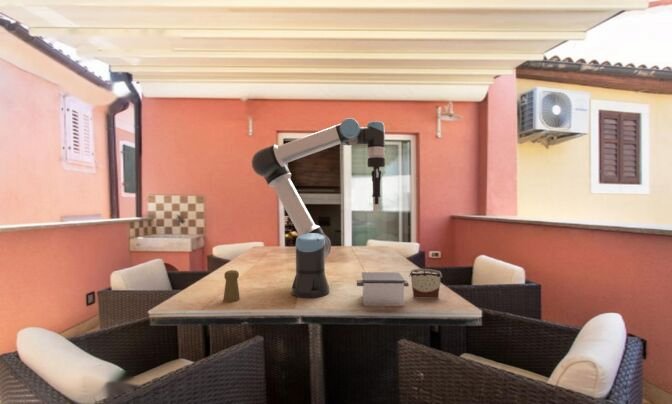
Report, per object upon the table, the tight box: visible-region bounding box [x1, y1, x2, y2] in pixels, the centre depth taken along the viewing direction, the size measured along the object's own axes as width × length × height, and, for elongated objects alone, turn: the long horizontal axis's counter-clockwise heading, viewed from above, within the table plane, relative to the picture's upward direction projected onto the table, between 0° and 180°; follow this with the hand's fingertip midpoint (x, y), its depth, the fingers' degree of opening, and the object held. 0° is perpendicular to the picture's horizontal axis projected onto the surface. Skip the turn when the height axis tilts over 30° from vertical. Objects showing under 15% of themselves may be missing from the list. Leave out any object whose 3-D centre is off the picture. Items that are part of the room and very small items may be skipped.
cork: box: [222, 269, 241, 303], centre depth 121 cm, size 6×6×11 cm
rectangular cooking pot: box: [356, 279, 410, 307], centre depth 119 cm, size 19×12×8 cm, turn 88°
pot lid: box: [361, 271, 405, 283], centre depth 119 cm, size 15×12×1 cm
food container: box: [408, 268, 443, 299], centre depth 125 cm, size 12×6×10 cm, turn 84°
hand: (376, 211), depth 139 cm, fingers closed
